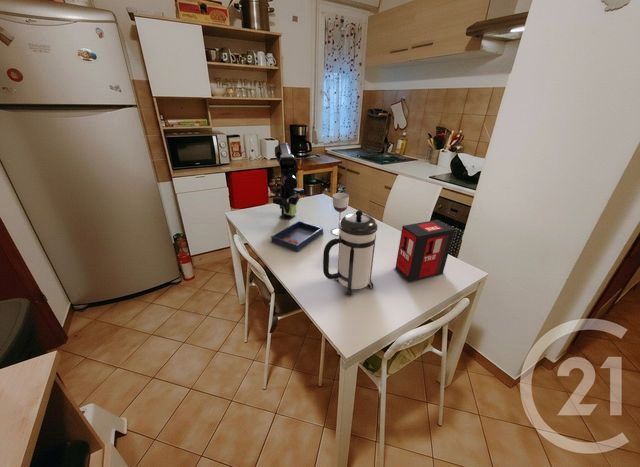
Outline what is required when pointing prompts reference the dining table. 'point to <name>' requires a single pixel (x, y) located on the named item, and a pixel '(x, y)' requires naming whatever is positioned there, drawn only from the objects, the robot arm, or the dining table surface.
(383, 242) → the dining table surface
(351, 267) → the coffee press
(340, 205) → the wineglass
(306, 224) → the tray
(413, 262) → the cleaning product box
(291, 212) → the sponge
